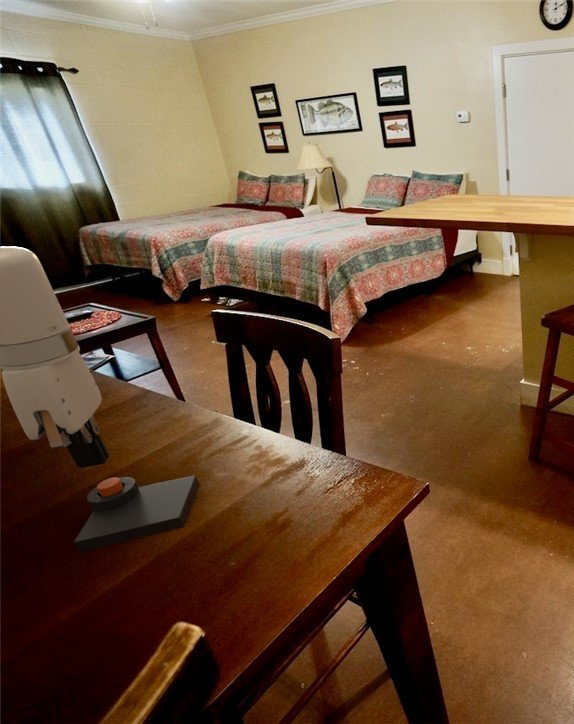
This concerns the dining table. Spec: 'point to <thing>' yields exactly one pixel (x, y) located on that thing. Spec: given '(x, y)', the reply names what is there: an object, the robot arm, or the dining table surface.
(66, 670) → the dining table surface
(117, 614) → the dining table surface
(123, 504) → the grey push button base
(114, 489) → the button
